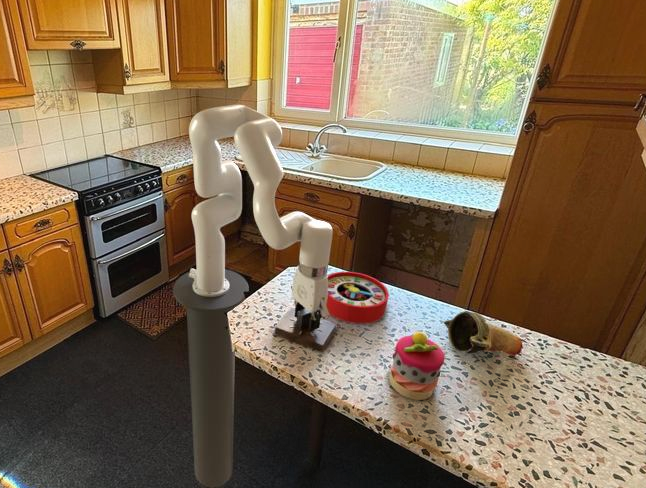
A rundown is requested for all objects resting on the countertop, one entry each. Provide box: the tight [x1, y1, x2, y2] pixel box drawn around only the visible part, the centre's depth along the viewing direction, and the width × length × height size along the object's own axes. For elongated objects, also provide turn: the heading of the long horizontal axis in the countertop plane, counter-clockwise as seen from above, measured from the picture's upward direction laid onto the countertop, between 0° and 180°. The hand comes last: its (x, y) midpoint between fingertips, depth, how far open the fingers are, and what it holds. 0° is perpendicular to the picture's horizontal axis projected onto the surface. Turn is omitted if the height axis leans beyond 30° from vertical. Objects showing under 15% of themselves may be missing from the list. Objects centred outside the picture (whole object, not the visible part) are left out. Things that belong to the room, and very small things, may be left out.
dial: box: [296, 308, 318, 330], centre depth 112 cm, size 5×2×5 cm, turn 117°
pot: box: [443, 310, 524, 357], centre depth 106 cm, size 17×11×18 cm
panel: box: [274, 307, 338, 353], centre depth 113 cm, size 14×11×3 cm
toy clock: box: [326, 271, 390, 325], centre depth 125 cm, size 20×6×20 cm
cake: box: [388, 331, 446, 401], centre depth 93 cm, size 10×11×15 cm
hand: (306, 321), depth 112 cm, fingers open, 5 cm apart
